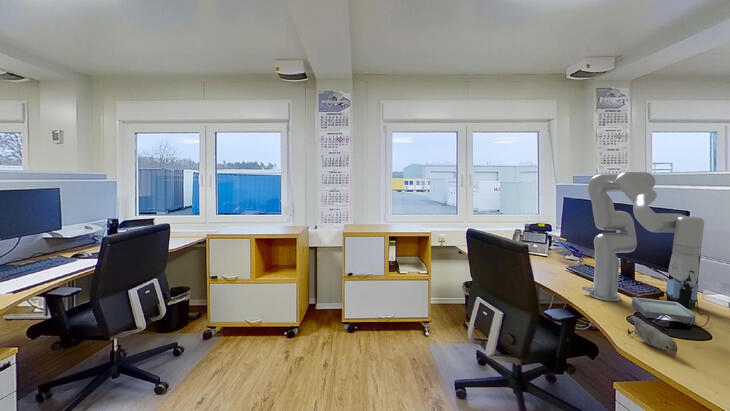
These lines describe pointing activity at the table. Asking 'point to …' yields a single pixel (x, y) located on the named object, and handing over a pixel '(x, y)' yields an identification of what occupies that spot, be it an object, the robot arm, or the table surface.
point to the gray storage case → (674, 290)
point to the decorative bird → (653, 336)
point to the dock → (663, 309)
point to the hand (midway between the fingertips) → (680, 296)
